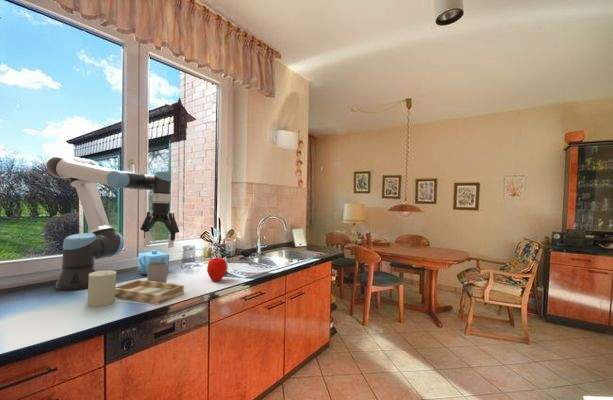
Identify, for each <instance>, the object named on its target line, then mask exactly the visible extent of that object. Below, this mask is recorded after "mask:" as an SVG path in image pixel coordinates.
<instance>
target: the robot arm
mask: <svg viewBox="0 0 613 400" xmlns="http://www.w3.org/2000/svg"><path fill="white" fill-rule="evenodd" d="M45 167H46V170H47V172H48V173H49V174H50V175H51V176H52V177H54V178H57V179H62V180H68V181H69V183H70V186H71V187H72V188H73V187H74V188H75V190H76V193H77V196H78V199H79V202H80V205H81V208H82V210H83V211H82V212H83V215H84V218H85V221H86V224H87V227H88V230H89V232H83V233H75V234H71V235H67V236H66V237H65V238H64V239H63V245H62V261H61V272H60V273H59V275H58V278H57V280H56V283H55V289H57V290H59V291H60V290H61V291H74V290H83V289H88V283H89V274H90V273H92V272H96V269H95V261H96V260H99V259H105V258H111V257H113V256H117V255H118V254H120V253H121V252H122V250H123V248H124V246H125V241H124V240H125V239H124V237H123V235H122V234H120V233H119V232H116V230H115V228H114V227H112V226H110V223H109V219H108V216H107V214H106V210H105V207H104V205H103V201H102V198H101V196H100V193H99V189H98V186H97V184H101V185H106V186H110V187H111V188H116V189H129V190H130V189H132V190H139V191H142V190H143V191H144V190H147V191H149V190H151V191H152V205H151V210H152V211H147V212H146V215H145V218H144V220H143V223H142V224H141V227H140V231H143V238H144V245H143V246H150V245H151V234H152V233H151V229H152V228H153V227H154V226H155V224H156V223H157V222H160V223H162V224H164V225H165V227H166V229H167V230H168V232H169V233H168V245H167V246H168V247H167V248H174V241H175V240H176V234H178V233H179V232H180V229H179V226H178V224H177V221H176V218H175V213H174V212H169V211H170V206H171V205H170V202H171V187H172V186H171V185H172V173H171V172H170V171H167V170H157V169H156V170H154V172H153V174H146V173H145V174H144V173H136V172H129V171H123V170H120V169H119V170H118V169H113V168H108V167H103V166H99V164H98V163H97V162H96V161H94V160H92V159H89V158H85V157H82V158H81V157H77V156H73V155H72V156H71V155H65V154H57V155H54V156H52V157H50V158H48V160H47V161H46V165H45Z"/></svg>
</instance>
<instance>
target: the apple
mask: <svg viewBox="0 0 613 400" xmlns="http://www.w3.org/2000/svg"><path fill="white" fill-rule="evenodd" d="M227 267H228V266H227V262H226V259H224V258H222V257H213V258H211V259H210V260H209V261H208V264H207V267H206V272H207V275H208V276H209V277H208V278H210V280H211V281H213V282H216V281H220V280H222V279H223V278H224V276H225V274H226V273H227V270H228V269H227Z"/></svg>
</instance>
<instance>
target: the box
mask: <svg viewBox="0 0 613 400" xmlns="http://www.w3.org/2000/svg"><path fill="white" fill-rule="evenodd" d="M184 289H185V285H184V284H179V283H170V282H169V283H168V282H166V283H163V282H155V281H148V280H147V279H141V278H140V279H136V280H134V281H130V282H126V283H124V284H123V283H122V284H120V285H116V291H115V299H116V298H117V299H122V300H130V301H135V302H144V303H147V304H156V305H160V304H162V303H165V302H167V301H170V300H171V299H173V298H176V297H179V296H180V295H182V294H184V293H185V292H184V291H185V290H184Z"/></svg>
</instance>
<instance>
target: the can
mask: <svg viewBox="0 0 613 400" xmlns="http://www.w3.org/2000/svg"><path fill="white" fill-rule="evenodd" d="M116 286H117V271H116V270H109V269H108V270H98V271H96V270H95V272H92V273H90V274H89V283H88V288H87V290H88V291H87V301H86V305H87V306H88V307H94V308H95V307H103V306H109V305H112V304H113V303H115V302H116V298H115V291H116Z"/></svg>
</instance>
